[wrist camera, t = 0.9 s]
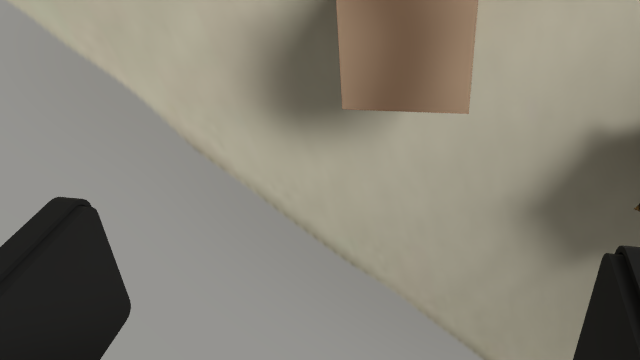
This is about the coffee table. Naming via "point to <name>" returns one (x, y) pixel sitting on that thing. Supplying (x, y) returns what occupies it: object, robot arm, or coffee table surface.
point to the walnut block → (406, 54)
